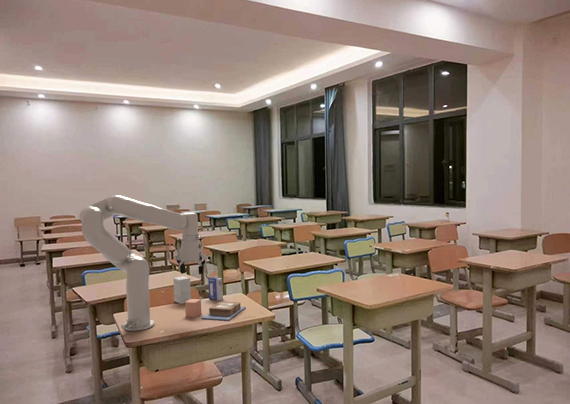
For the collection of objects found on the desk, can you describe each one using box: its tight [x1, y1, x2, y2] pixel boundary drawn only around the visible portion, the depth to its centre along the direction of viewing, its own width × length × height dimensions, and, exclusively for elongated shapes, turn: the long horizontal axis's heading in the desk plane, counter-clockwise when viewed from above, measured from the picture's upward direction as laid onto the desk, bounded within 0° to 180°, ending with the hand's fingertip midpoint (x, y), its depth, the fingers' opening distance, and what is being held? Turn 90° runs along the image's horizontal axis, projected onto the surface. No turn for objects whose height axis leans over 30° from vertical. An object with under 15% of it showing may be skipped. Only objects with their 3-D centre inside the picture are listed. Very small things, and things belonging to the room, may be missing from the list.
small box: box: [173, 275, 192, 305], centre depth 221 cm, size 8×6×13 cm
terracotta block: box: [184, 298, 203, 318], centre depth 197 cm, size 6×6×7 cm
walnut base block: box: [208, 300, 242, 316], centre depth 198 cm, size 12×11×3 cm
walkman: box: [207, 276, 224, 301], centre depth 224 cm, size 8×3×12 cm, turn 58°
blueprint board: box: [201, 306, 246, 322], centre depth 197 cm, size 20×14×1 cm
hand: (192, 273), depth 196 cm, fingers open, 9 cm apart
